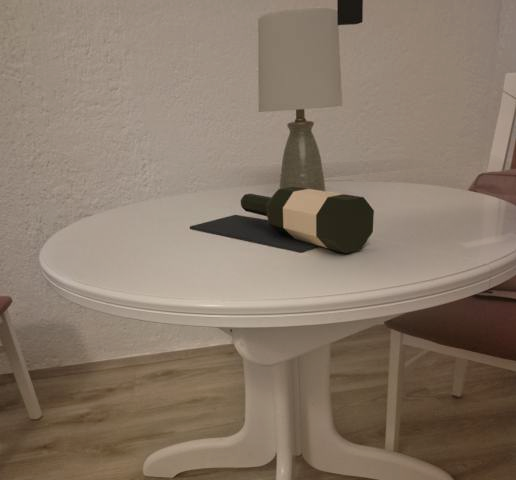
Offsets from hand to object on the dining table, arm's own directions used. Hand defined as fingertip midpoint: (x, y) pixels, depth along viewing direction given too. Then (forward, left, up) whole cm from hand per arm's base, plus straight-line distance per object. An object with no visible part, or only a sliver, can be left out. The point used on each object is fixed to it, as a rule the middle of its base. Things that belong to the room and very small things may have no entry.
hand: (349, 23), depth 60 cm
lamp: (+12, -46, -30) cm, 56 cm away
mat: (+16, -14, -30) cm, 36 cm away
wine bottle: (-1, +1, -25) cm, 25 cm away
